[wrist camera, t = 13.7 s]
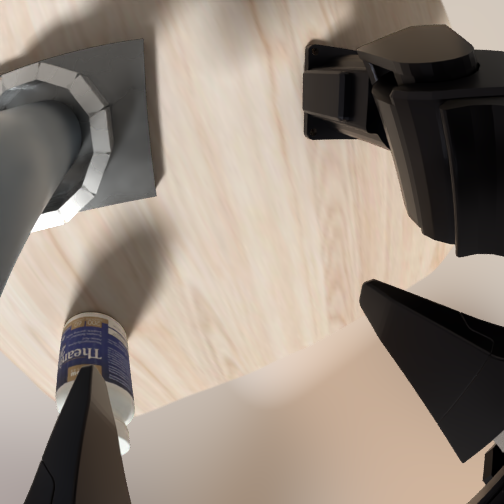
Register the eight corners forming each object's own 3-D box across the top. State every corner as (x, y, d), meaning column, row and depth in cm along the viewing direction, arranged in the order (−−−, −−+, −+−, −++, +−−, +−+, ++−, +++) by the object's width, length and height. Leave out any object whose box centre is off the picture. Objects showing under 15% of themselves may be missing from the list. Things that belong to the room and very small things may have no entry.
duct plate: (143, 41, 13) (144, 30, 10) (155, 189, 18) (160, 212, 15) (-41, 96, 10) (-71, 103, 7) (-13, 229, 15) (-34, 258, 12)
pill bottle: (99, 298, 20) (99, 416, 12) (139, 341, 23) (158, 449, 16) (49, 327, 20) (37, 438, 12) (91, 365, 23) (97, 468, 15)
